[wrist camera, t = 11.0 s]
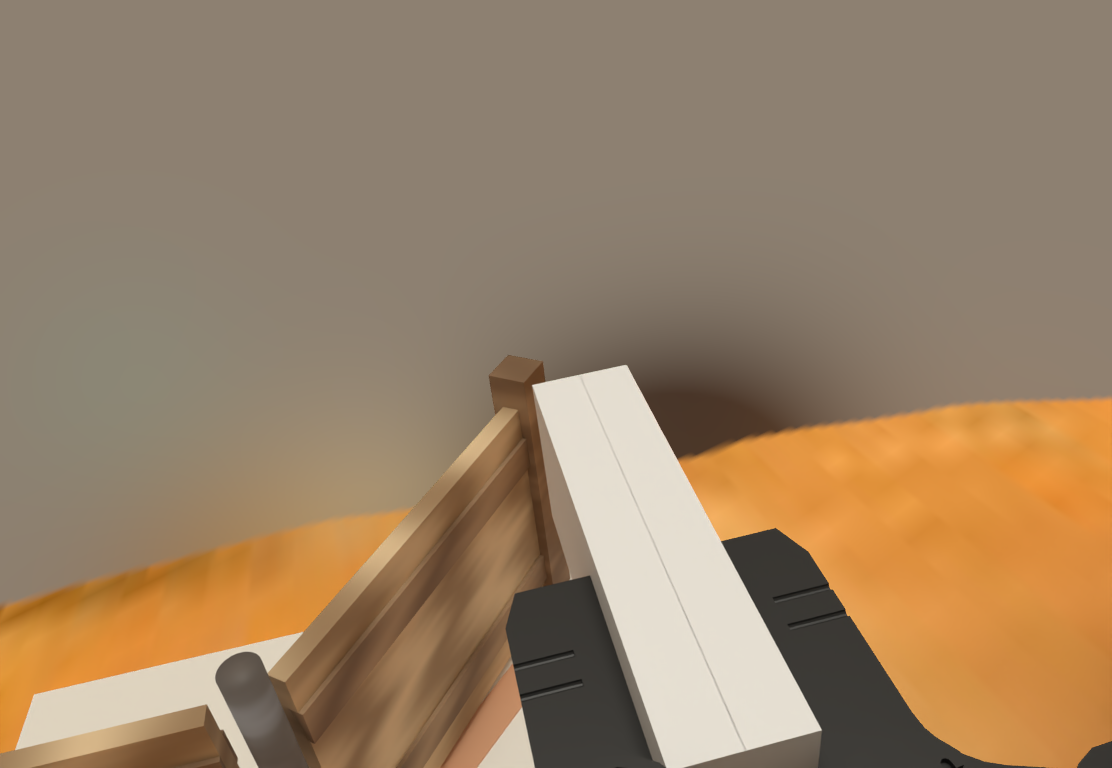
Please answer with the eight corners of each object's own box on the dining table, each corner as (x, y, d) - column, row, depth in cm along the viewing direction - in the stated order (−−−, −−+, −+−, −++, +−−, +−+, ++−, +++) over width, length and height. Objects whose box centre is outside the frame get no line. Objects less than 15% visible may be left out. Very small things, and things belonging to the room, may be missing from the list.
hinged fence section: (352, 926, 33) (244, 698, 26) (316, 906, 34) (200, 678, 26) (570, 578, 47) (542, 361, 39) (540, 569, 48) (508, 354, 40)
